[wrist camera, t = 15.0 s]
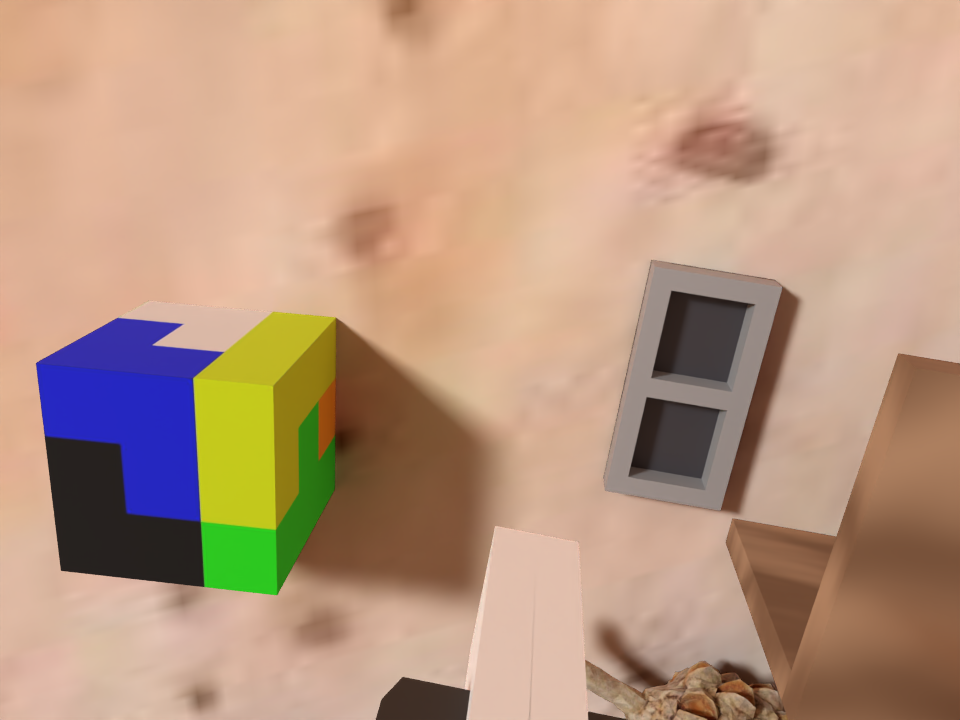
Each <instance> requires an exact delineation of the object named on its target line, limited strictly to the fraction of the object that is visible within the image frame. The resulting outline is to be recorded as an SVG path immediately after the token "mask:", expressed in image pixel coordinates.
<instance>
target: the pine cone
mask: <svg viewBox="0 0 960 720" xmlns="http://www.w3.org/2000/svg"><path fill="white" fill-rule="evenodd" d="M585 668H586V688H587V689H588V690H590V691H592V692H593V693H595V694H597V695H598V696H600V697H602V698H604V699H605V700H607V701H609V702H612V703H614V704H615V705H616V707H617V708H618V709H619V710H621V711H622V712H624V713H625V716H626V718H625V719H628V720H788V718H787V715H786V712H785V709H784V706H783V704H782V701H781V698H780V695H779V693H778V691H775V690H774V688H773V687H772V686H771V684H750V685H747V684H746V683H744V682H743V681H742V680H740V677H739V676H738V675H737V674H736V673H735V672H734V673H724V674H720V673H719V670H718V669H716V668H715V667H713V666H712V665H710V664H708V663H707V662H705V661H701V662H698V663H697V664H695V665H693V666H692V667H690V668H686V669H684V670H682V671H681V672H675V674H674V676H673V679H672V680H669V681H668V684H666V685H663V686H656V687H651V688H646V689H645V690H644V691H643V693H641V692H639V691H638V690H636V689H634V688H632V687H630V686H628V685H626V684H624V683H622V682H620V681H619V680H617V679H615V678H614V677H612V676H610V675H609V674H608V673H606V672H605V671H603V670H602V669H600V668H598V667H596V666H595V665H593V664H591V663H589V662H588V661H586V660H585Z"/></svg>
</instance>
